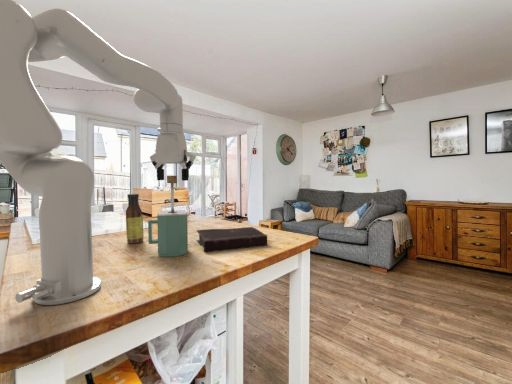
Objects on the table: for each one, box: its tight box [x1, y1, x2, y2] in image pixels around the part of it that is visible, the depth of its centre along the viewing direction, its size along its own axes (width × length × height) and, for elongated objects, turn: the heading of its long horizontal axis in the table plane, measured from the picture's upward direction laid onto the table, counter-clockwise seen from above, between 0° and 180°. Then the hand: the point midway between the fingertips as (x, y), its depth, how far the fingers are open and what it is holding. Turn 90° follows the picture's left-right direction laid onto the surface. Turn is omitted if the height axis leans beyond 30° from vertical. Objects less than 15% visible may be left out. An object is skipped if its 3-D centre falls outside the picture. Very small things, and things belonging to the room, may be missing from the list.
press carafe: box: [147, 209, 189, 258], centre depth 88 cm, size 10×13×14 cm
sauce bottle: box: [125, 193, 144, 244], centre depth 102 cm, size 6×6×20 cm
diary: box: [196, 226, 268, 253], centre depth 102 cm, size 19×25×5 cm
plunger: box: [166, 175, 178, 213], centre depth 87 cm, size 7×7×15 cm
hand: (172, 180), depth 87 cm, fingers open, 9 cm apart
